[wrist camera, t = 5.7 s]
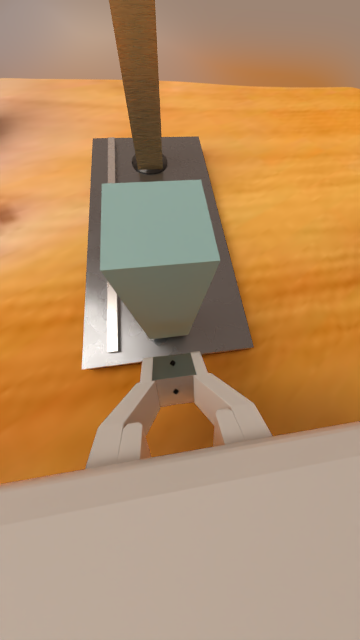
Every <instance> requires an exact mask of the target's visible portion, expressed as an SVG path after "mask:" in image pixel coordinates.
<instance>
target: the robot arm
mask: <svg viewBox="0 0 360 640" xmlns="http://www.w3.org/2000/svg"><path fill="white" fill-rule="evenodd" d="M191 402H194V403H195V404H196V405H197V407H198V408H199V409H200V410H201V411H202V412H203V413H204V415H205V416H206V417H207V418H208V419H209V420H210V421H211V423H212V424H213V425H214V426H215V427H214V440H213V447H208V448H203V449H197V450H191V451H185V452H180V453H174V454H168V455H163V456H157V457H151V454H150V450H149V447H148V443H147V440H146V435H147V433H148V431H149V429H150V427H151V426H152V424H153V422H154V420H155V418H156V416H157V414H158V412H159V410H160V407H164V406H170V405H175V404H183V403H191ZM0 640H360V421H357V422H351V423H345V424H340V425H334V426H328V427H323V428H317V429H311V430H306V431H300V432H294V433H289V434H283V435H277V436H272V434H271V432H270V430H269V429H268V427H267V425H266V423H265V422H264V420H263V418H262V416H261V415H260V413H259V411H258V409H257V408H256V406H255V404H254V403H253V402H251V401H250V400H248V399H247V398H246V397H244V396H243V395H241V394H240V393H239V392H237V391H236V390H234V389H233V388H232V387H230V386H229V385H227V384H226V383H225V382H223V381H222V380H220V379H219V378H217V377H216V376H215V375H213V374H212V373H208V371H207V369H206V366H205V363H204V361H203V358H202V355H201V353H200V351H196V352H190V353H184V354H176V355H167V356H158V357H150V358H143V361H142V369H141V377H140V383H136V385H135V386H134V387H133V388H132V389H131V390H130V392H129V393H128V394H127V395H126V396H125V397H124V398H123V400H122V401H121V402H120V403H119V404H118V405H117V406H116V408H115V409H114V410H113V411H112V412H111V413H110V414H109V416H108V417H107V418H106V419H105V420H104V421H103V423H102V424H101V425H100V426H99V427H98V430H97V433H96V436H95V439H94V442H93V446H92V449H91V452H90V455H89V458H88V461H87V465H86V468H85V469H83V470H77V471H72V472H66V473H60V474H55V475H49V476H43V477H38V478H32V479H26V480H20V481H15V482H9V483H3V484H0Z"/></svg>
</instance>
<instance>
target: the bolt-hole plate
mask: <svg viewBox="0 0 360 640" xmlns="http://www.w3.org/2000/svg"><path fill="white" fill-rule="evenodd" d="M109 3H110V9H111V15H112V21H113V27H114V33H115V38H116V44H117V50H118V56H119V61H120V67H121V73H122V79H123V85H124V91H125V97H126V103H127V108H128V114H129V120H130V126H131V132H132V138H97V139H93V147H92V168H91V189H90V210H89V231H88V251H87V272H86V293H85V314H84V335H83V356H82V369H98V368H106V367H114V366H122V365H129V364H137V363H142V361H143V358H150V357H158V356H167V355H176V354H184V353H190V352H196V351H200V353H201V355H207V354H214V353H222V352H230V351H238V350H245V349H249V348H253V347H254V346H253V343H252V339H251V335H250V331H249V327H248V324H247V320H246V316H245V312H244V308H243V305H242V301H241V297H240V293H239V289H238V286H237V282H236V278H235V274H234V270H233V267H232V263H231V259H230V255H229V251H228V248H227V244H226V240H225V236H224V232H223V228H222V225H221V221H220V217H219V213H218V209H217V206H216V202H215V198H214V194H213V190H212V187H211V183H210V179H209V175H208V171H207V168H206V164H205V160H204V156H203V152H202V149H201V145H200V141H199V137H161V119H160V98H159V79H158V58H157V57H158V56H157V36H156V15H155V0H109ZM180 180H201V182H202V186H203V190H204V194H205V198H206V203H207V207H208V211H209V215H210V219H211V223H212V228H213V232H214V236H215V240H216V244H217V248H218V253H219V257H220V263H219V265H218V267H217V270H216V272H215V274H214V277H213V279H212V281H211V284H210V286H209V288H208V290H207V293H206V295H205V297H204V300H203V302H202V304H201V307H200V309H199V311H198V313H197V316H196V318H195V320H194V323H193V325H192V327H191V330H190V332H189V334H188V335H184V336H175V337H167V338H158V339H149V338H148V336H147V335H146V333H145V332H144V331H143V329H142V328H141V327H140V325H139V324H138V322H137V321H136V320H135V318H134V317H133V315H132V314H131V313H130V311H129V310H128V309H127V307H126V306H125V304H124V303H123V302H122V300H121V299H120V297H119V296H118V295H117V293H116V292H115V291H114V289H113V288H112V286H111V285H110V284H109V282H108V281H107V279H106V278H105V277H104V275H103V274H102V273H101V271H100V247H101V196H102V184H106V183H130V182H155V181H180Z"/></svg>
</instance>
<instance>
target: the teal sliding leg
mask: <svg viewBox="0 0 360 640" xmlns="http://www.w3.org/2000/svg"><path fill="white" fill-rule="evenodd" d="M219 263H220V257H219V253H218V248H217V244H216V240H215V236H214V232H213V228H212V223H211V219H210V215H209V211H208V207H207V203H206V198H205V194H204V190H203V186H202V182H201V180H180V181H155V182H130V183H106V184H102V196H101V247H100V271H101V273H102V274H103V275H104V277H105V278H106V279H107V281H108V282H109V284H110V285H111V286H112V288H113V289H114V291H115V292H116V293H117V295H118V296H119V297H120V299H121V300H122V302H123V303H124V304H125V306H126V307H127V309H128V310H129V311H130V313H131V314H132V315H133V317H134V318H135V320H136V321H137V322H138V324H139V325H140V327H141V328H142V329H143V331H144V332H145V333H146V335H147V336H148V338H149V339H158V338H167V337H175V336H184V335H188V334H189V332H190V330H191V327H192V325H193V323H194V320H195V318H196V316H197V313H198V311H199V309H200V307H201V304H202V302H203V300H204V297H205V295H206V293H207V290H208V288H209V286H210V284H211V281H212V279H213V277H214V274H215V272H216V270H217V267H218V265H219Z"/></svg>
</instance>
